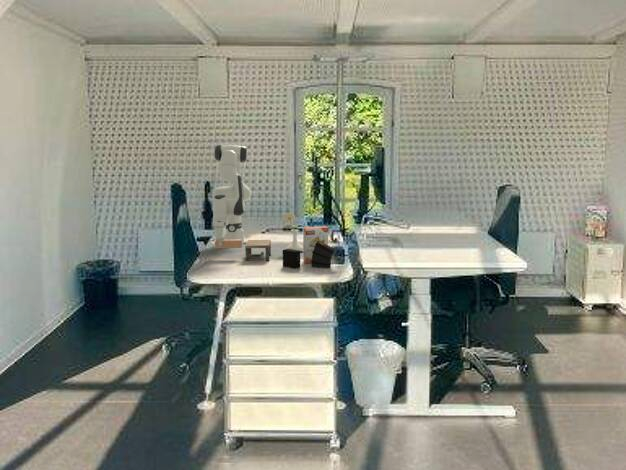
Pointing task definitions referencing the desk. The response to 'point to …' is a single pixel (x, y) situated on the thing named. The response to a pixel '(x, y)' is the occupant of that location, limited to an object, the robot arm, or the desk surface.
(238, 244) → the brown wooden block
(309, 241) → the cracker box
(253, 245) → the small wooden table
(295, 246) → the flower in vase
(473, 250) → the desk surface
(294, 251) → the electronic device
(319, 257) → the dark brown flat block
